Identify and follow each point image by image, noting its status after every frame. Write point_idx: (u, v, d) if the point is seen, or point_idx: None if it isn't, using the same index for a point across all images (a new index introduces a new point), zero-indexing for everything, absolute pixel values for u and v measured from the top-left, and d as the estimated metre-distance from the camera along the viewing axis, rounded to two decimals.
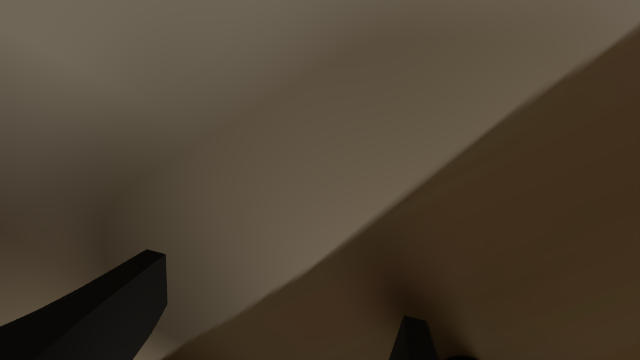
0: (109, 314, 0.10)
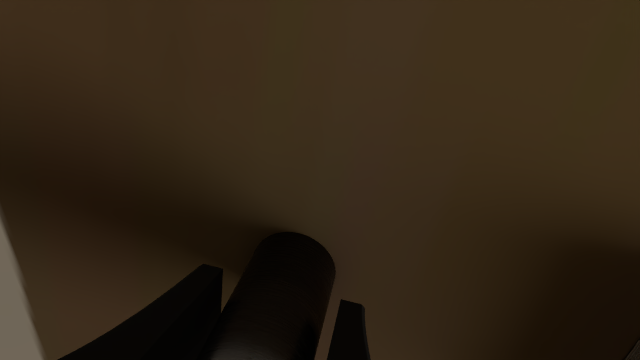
0: (177, 333, 0.10)
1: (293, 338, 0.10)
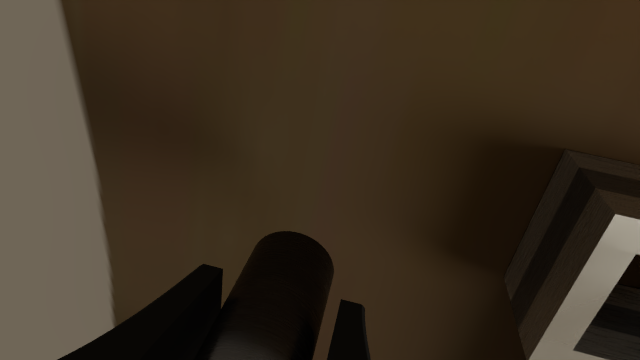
0: (177, 333, 0.10)
1: (292, 337, 0.10)
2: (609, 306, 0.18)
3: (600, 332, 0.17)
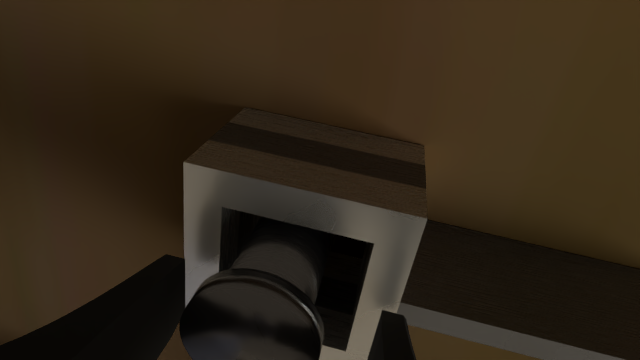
0: (132, 320, 0.10)
1: (315, 232, 0.14)
2: None
3: None
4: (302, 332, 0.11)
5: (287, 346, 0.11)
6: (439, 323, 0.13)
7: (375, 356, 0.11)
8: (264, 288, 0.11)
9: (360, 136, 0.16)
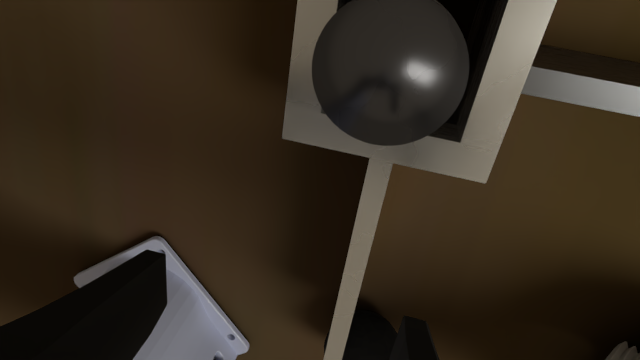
0: (109, 314, 0.10)
1: None
2: None
3: None
4: (455, 43, 0.10)
5: (433, 67, 0.10)
6: (572, 90, 0.12)
7: None
8: None
9: None
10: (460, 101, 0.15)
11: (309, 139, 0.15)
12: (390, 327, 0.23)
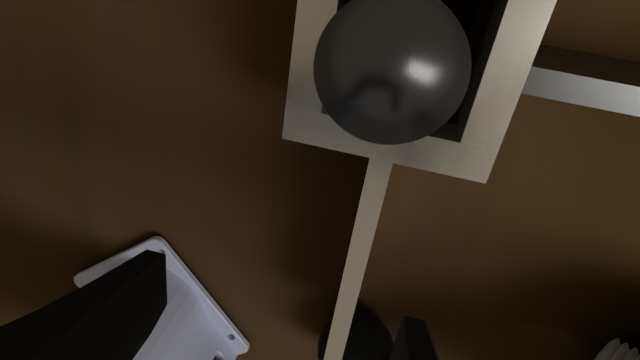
0: (109, 314, 0.10)
1: None
2: None
3: None
4: (457, 42, 0.10)
5: (436, 66, 0.10)
6: (572, 90, 0.12)
7: None
8: None
9: None
10: None
11: (309, 139, 0.15)
12: (383, 327, 0.23)
